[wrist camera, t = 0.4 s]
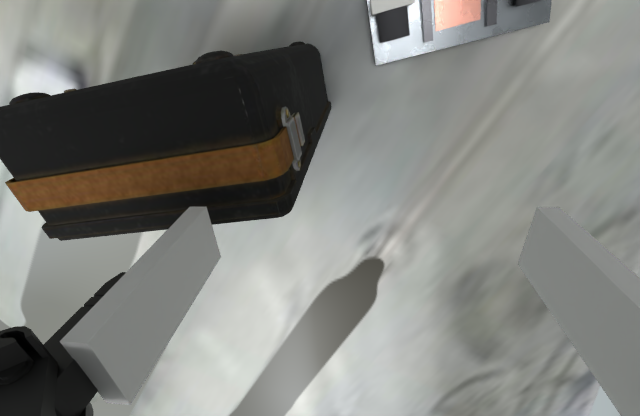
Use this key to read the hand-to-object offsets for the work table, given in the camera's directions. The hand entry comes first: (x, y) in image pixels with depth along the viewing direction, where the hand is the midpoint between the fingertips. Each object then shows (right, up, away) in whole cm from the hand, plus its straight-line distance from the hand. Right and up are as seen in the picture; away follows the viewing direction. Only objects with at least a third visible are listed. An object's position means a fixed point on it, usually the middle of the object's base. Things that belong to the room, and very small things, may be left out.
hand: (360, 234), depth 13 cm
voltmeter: (-8, +15, +24) cm, 29 cm away
